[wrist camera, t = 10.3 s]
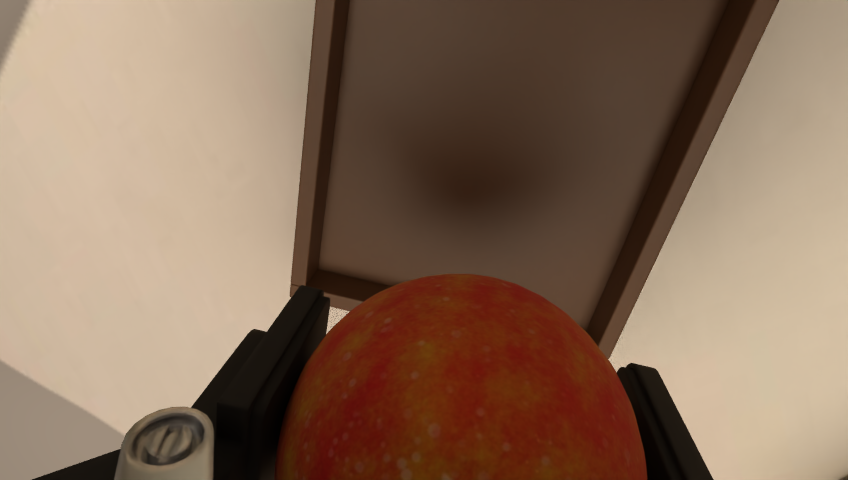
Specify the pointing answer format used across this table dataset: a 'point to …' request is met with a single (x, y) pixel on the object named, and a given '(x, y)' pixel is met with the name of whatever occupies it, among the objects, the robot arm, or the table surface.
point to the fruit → (459, 392)
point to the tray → (510, 142)
